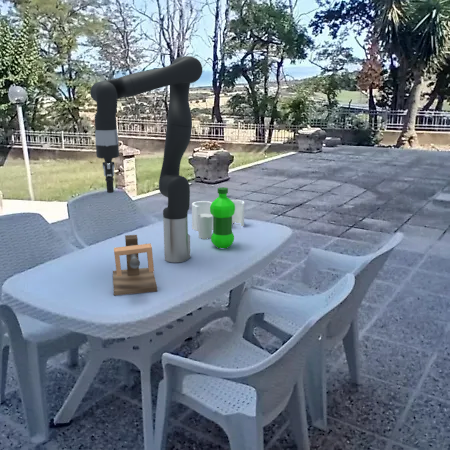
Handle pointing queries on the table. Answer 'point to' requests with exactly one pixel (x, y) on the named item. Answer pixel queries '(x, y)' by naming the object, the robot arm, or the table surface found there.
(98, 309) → the table surface
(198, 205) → the white caddy
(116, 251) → the wooden staple shape
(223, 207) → the plastic bottle
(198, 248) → the table surface
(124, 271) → the hook stand
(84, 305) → the table surface
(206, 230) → the drinking glass
